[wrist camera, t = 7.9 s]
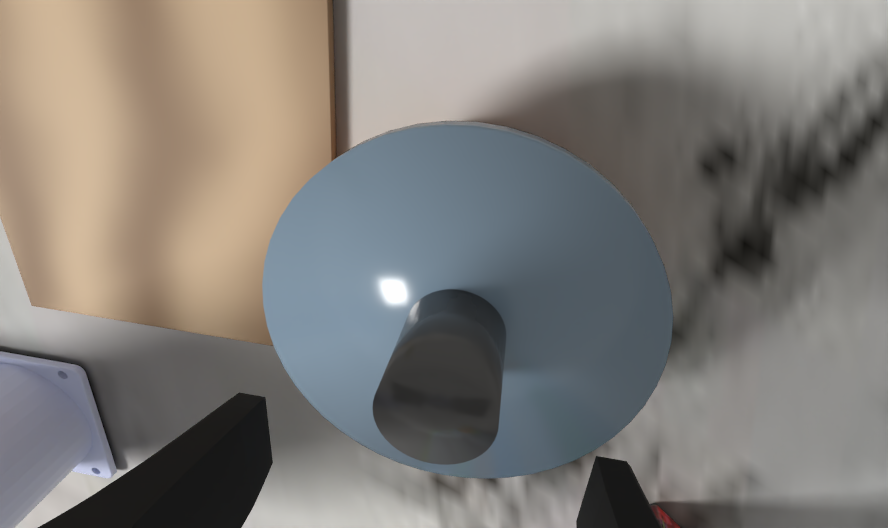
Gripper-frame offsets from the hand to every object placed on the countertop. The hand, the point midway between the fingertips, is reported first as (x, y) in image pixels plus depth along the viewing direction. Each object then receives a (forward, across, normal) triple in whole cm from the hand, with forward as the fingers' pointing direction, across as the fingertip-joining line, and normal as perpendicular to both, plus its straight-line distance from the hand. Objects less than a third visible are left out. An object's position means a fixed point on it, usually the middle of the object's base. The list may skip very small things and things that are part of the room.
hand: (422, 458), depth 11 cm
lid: (+5, 0, 0) cm, 5 cm away
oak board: (+10, +13, -2) cm, 16 cm away
